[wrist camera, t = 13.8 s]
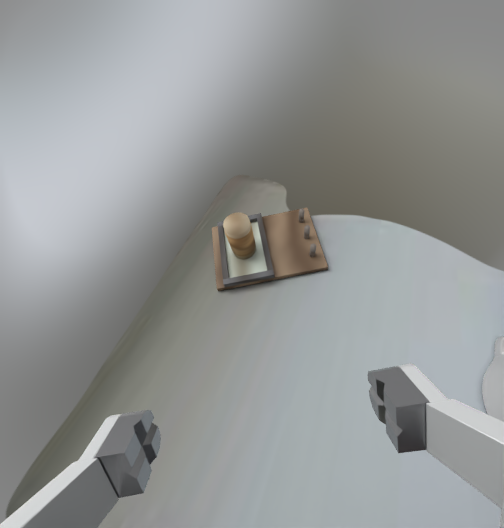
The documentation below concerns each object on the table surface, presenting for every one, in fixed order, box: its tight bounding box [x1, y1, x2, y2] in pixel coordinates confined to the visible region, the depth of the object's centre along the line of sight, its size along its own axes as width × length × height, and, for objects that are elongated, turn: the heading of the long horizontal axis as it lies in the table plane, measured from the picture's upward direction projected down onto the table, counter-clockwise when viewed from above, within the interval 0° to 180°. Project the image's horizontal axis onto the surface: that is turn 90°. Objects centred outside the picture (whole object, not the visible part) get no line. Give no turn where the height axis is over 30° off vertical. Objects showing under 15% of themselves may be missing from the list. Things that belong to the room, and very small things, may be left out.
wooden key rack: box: [212, 208, 328, 291], centre depth 45 cm, size 20×14×4 cm
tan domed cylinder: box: [223, 213, 256, 259], centre depth 42 cm, size 5×5×8 cm
